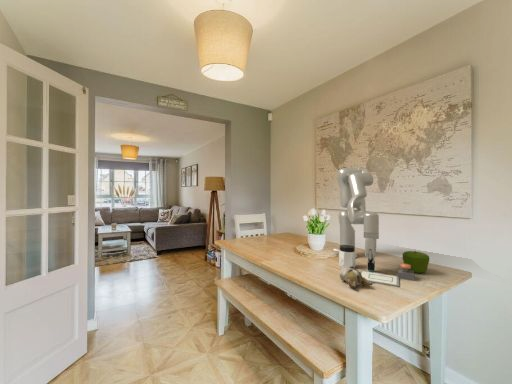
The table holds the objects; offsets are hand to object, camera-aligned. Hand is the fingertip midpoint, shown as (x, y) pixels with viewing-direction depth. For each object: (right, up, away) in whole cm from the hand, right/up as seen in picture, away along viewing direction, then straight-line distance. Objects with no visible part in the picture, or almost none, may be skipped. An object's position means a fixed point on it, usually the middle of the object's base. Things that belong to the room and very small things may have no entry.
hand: (371, 268), depth 132 cm
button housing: (+13, -2, -9) cm, 16 cm away
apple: (+25, -2, +1) cm, 25 cm away
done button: (+13, 0, -9) cm, 16 cm away
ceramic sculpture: (-17, -2, -18) cm, 25 cm away
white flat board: (-2, -2, -11) cm, 11 cm away
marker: (0, -2, 0) cm, 2 cm away
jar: (-10, -2, +9) cm, 13 cm away
